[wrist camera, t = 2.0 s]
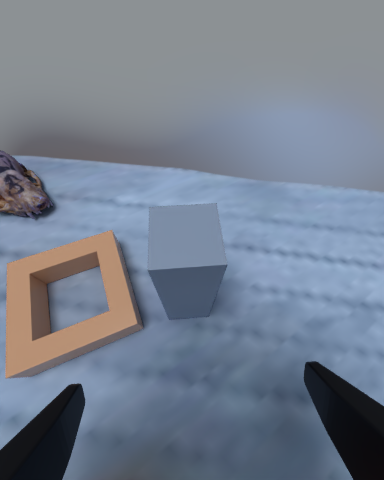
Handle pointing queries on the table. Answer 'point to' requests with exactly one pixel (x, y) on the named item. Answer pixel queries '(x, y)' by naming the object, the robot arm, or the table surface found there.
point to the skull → (20, 189)
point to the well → (37, 308)
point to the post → (186, 258)
